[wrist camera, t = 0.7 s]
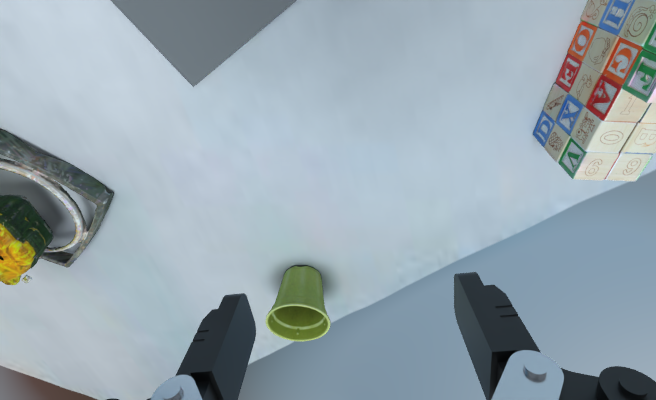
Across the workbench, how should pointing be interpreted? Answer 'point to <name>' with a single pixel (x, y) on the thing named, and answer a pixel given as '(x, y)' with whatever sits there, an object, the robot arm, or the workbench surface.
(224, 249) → the workbench surface
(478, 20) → the workbench surface
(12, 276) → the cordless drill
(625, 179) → the stack of blocks
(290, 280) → the plant pot
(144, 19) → the rubber mat
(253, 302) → the workbench surface
